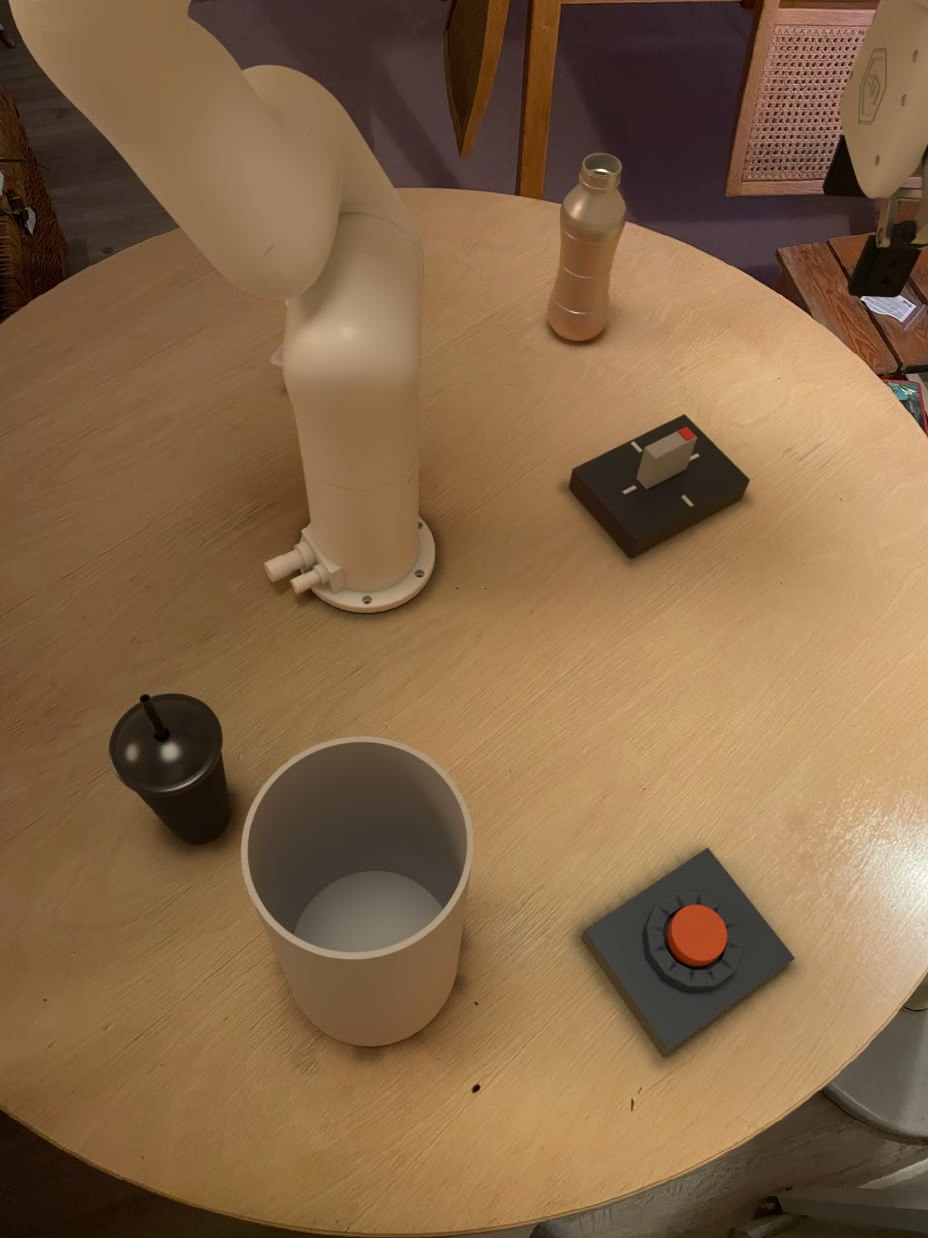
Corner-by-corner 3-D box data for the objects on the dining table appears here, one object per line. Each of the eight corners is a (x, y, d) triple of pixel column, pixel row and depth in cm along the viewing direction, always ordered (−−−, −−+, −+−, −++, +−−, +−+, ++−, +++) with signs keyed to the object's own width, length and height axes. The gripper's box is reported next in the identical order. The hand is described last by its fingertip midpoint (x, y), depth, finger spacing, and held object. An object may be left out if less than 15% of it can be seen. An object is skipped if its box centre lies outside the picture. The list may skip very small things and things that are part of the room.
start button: (690, 978, 74) (695, 972, 72) (655, 930, 76) (659, 923, 74) (732, 947, 75) (739, 941, 74) (697, 901, 77) (702, 894, 75)
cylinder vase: (267, 914, 79) (212, 782, 57) (420, 853, 82) (421, 707, 60) (321, 1078, 73) (283, 999, 52) (484, 1006, 76) (511, 903, 55)
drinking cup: (207, 881, 80) (150, 776, 63) (131, 829, 82) (56, 714, 65) (268, 802, 83) (230, 683, 66) (194, 755, 85) (139, 627, 68)
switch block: (662, 1057, 74) (674, 1047, 71) (580, 938, 79) (587, 923, 75) (786, 965, 78) (803, 951, 75) (701, 856, 82) (713, 839, 79)
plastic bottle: (607, 350, 113) (641, 187, 96) (545, 347, 112) (568, 184, 95) (603, 309, 116) (635, 145, 99) (543, 306, 116) (565, 141, 99)
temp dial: (646, 489, 98) (656, 456, 94) (635, 478, 99) (645, 445, 95) (686, 469, 100) (698, 435, 96) (676, 458, 101) (687, 424, 97)
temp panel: (630, 559, 98) (636, 539, 95) (568, 488, 102) (572, 467, 99) (742, 499, 102) (751, 478, 99) (678, 433, 106) (684, 412, 104)
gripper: (874, -131, 56) (781, 156, 71) (943, 44, 47) (820, 333, 62) (1011, -123, 56) (890, 162, 71) (1107, 53, 47) (946, 339, 62)
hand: (858, 241), depth 66 cm, fingers open, 9 cm apart
